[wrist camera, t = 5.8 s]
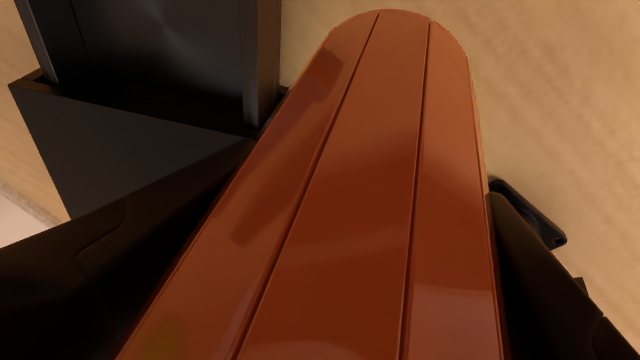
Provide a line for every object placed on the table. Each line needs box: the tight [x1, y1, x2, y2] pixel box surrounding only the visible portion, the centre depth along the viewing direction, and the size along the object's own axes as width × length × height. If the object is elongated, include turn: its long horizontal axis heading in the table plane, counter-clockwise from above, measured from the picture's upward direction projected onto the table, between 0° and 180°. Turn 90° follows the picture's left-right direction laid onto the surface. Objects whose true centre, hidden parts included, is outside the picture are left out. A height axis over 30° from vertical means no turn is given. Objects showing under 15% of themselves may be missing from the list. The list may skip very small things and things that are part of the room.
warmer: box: [8, 68, 289, 220], centre depth 26 cm, size 15×15×6 cm
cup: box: [106, 9, 512, 360], centre depth 9 cm, size 5×5×11 cm
